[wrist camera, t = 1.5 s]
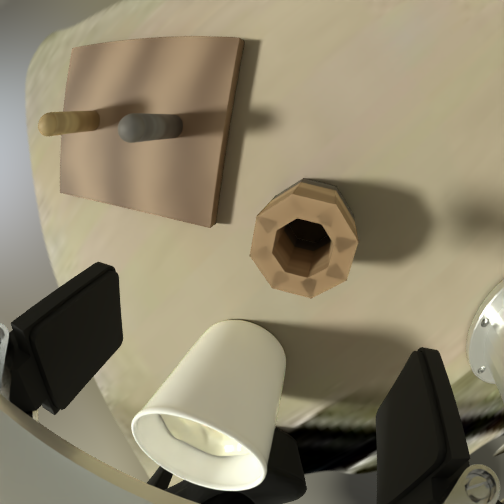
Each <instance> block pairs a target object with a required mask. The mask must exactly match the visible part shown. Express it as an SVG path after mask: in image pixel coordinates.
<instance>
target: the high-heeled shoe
mask: <svg viewBox="0 0 504 504" xmlns="http://www.w3.org/2000/svg"><path fill="white" fill-rule="evenodd" d="M297 446H298V444H297V442H296V440H295V439H294V438H293V437H292V436H290V435H289V434H288V433H286V432H284V431H281V430H279V429H277V428H275V431H274V436H273V440H272V445H271V450H270V455H269V460H268V465H267V474H266V477H265V479H264V480H263V482H262V483H260V484H259V485H258V486H256V487H254V488H251V489H247V490H241V491H224V490H217V489H211V488H207V487H203V486H200V485H197V484H194V483H191V482H189V481H186V480H183V481H181V482H180V483H178V484H176V485H174V486H172V487H169V488H168V486H169V483H170V481H171V478H172V475H173V474H172V473H170V472H169V471H167V470H165V469H164V468H162V467H161V466H160V467H159V468H158V469H157V471H156V472H155V473H154V475H153V476H152V477H151V478H150V480H149V481H148V482H147V484H149V485H152V486H154V487H156V488H159V489H161V490H164V491H166V492H169V493H171V494H174V495H176V496H179V497H182V498H185V499H187V500H190V501H193V502H196V503H199V504H283V503H287V502H291V501H294V500H297V499H299V498H300V497H302V496H303V495H304V494H305V492H306V490H307V487H306V482H305V478H304V472H303V468H302V464H301V460H300V455H299V451H298V447H297Z"/></svg>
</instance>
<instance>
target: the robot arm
mask: <svg viewBox="0 0 504 504" xmlns="http://www.w3.org/2000/svg"><path fill="white" fill-rule="evenodd" d="M11 326H12V329H13V330H12V331H11V332H10V333H9V331H8V329H7V327H6V326H4V325H3V324H1V323H0V504H199V503H196V502H193V501H190V500H187V499H185V498H182V497H179V496H176V495H174V494H171V493H169V492H166V491H164V490H161V489H159V488H156V487H154V486H152V485H149V484H147V483H145V482H142V481H140V480H138V479H136V478H133V477H131V476H129V475H127V474H125V473H123V472H121V471H119V470H117V469H115V468H113V467H111V466H109V465H107V464H105V463H103V462H102V461H100V460H98V459H96V458H94V457H92V456H91V455H89V454H87V453H85V452H84V451H82V450H80V449H78V448H77V447H75V446H74V445H72V444H70V443H69V442H67V441H66V440H64V439H62V438H61V437H59V436H58V435H56V434H54V433H53V432H52V431H50V430H49V429H47V428H46V427H44V426H43V425H41V424H40V423H38V408H39V407H40V406H41V405H42V406H43V408H45V409H46V410H48V411H49V412H51V413H52V414H54V415H55V414H56V413H57V412H58V411H59V410H60V409H61V410H63V409H65V408H66V407H67V406H68V405H69V404H70V402H71V401H72V400H73V399H74V398H75V396H77V394H78V393H79V392H80V391H81V390H82V389H83V387H84V386H85V385H86V384H87V383H88V382H89V380H91V378H92V377H93V376H94V375H95V374H96V373H97V372H98V371H99V369H100V368H101V367H102V366H103V365H104V364H105V363H106V362H107V360H108V359H109V358H110V357H111V356H112V355H113V354H114V353H115V352H116V350H117V349H118V348H119V347H120V346H121V344H122V341H123V331H122V320H121V307H120V291H119V276H118V273H117V272H116V271H115V268H114V267H113V266H110V265H107V264H104V263H101V262H97V263H95V264H93V265H92V266H90V267H89V268H87V269H86V270H84V271H83V272H81V273H80V274H78V275H77V276H75V277H74V278H72V279H71V280H69V281H68V282H67V283H65V284H64V285H62V286H61V287H59V288H58V289H56V290H55V291H54V292H52V293H51V294H49V295H48V296H47V297H45V298H44V299H42V300H41V301H40V302H38V303H37V304H35V305H34V306H33V307H31V308H30V309H29V310H27V311H26V312H25V313H23V314H22V315H21V316H19V317H18V318H17V319H15V320H14V321H13V322H11ZM466 353H467V358H468V362H469V364H470V367H471V369H472V371H473V372H474V374H475V375H476V376H477V377H478V378H479V379H481V380H482V381H485V382H487V383H492V384H496V385H497V388H498V390H499V392H500V395H501V397H502V400H503V402H504V279H503V280H502V281H501V282H500V283H499V284H497V286H496V287H495V288H494V289H493V290H492V291H491V292H490V293H489V294H488V296H487V297H486V299H485V300H484V301H483V303H482V304H481V306H480V307H479V309H478V311H477V313H476V315H475V317H474V318H473V321H472V324H471V326H470V329H469V332H468V337H467V343H466ZM376 435H377V504H502V503H501V502H500V501H499V500H498V498H499V494H500V483H499V480H498V477H497V476H496V474H495V473H494V472H493V471H492V470H491V469H490V468H488V467H487V466H485V465H480V464H476V465H471V466H469V461H468V460H469V459H470V455H469V451H468V446H467V442H466V438H465V434H464V430H463V426H462V423H461V419H460V415H459V412H458V408H457V405H456V402H455V398H454V395H453V392H452V388H451V385H450V382H449V379H448V376H447V373H446V370H445V367H444V364H443V361H442V359H441V356H440V353H439V351H437V350H434V349H428V348H423V347H421V348H419V349H418V351H413V352H412V354H411V355H410V357H409V359H408V361H407V363H406V364H405V366H404V368H403V370H402V371H401V373H400V375H399V377H398V378H397V380H396V382H395V383H394V385H393V387H392V388H391V390H390V391H389V393H388V395H387V396H386V398H385V399H384V401H383V403H382V404H381V406H380V407H379V409H378V411H377V414H376Z"/></svg>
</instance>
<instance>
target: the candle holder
mask: <svg viewBox="0 0 504 504" xmlns="http://www.w3.org/2000/svg"><path fill="white" fill-rule="evenodd" d="M285 370H286V356H285V352H284V350H283V348H282V346H281V344H280V343H279V341H278V340H277V339H276V338H275V337H274V336H273V335H272V334H271V333H270V332H268V331H267V330H266V329H264V328H262V327H260V326H258V325H256V324H254V323H251V322H247V321H242V320H226V321H221V322H218V323H216V324H214V325H212V326H211V327H209V328H208V329H207V330H206V331H205V332H204V333H203V334H202V336H201V337H200V338H199V339H198V340H197V342H196V343H195V344H194V345H193V347H192V348H191V349H190V350H189V352H188V353H187V354H186V355H185V357H184V358H183V359H182V360H181V362H180V363H179V364H178V365H177V366H176V368H175V369H174V370H173V371H172V373H171V374H170V375H169V376H168V378H167V379H166V380H165V381H164V383H163V384H162V385H161V386H160V388H159V389H158V390H157V391H156V393H155V394H154V395H153V396H152V398H151V399H150V400H149V401H148V402H147V404H146V405H145V406H144V407H143V409H142V410H141V411H140V412H138V413H137V414H136V415H135V417H134V418H133V421H132V425H131V428H132V433H133V436H134V438H135V440H136V442H137V444H138V445H139V446H140V448H141V449H142V450H143V451H144V452H145V453H146V454H147V455H148V456H149V457H150V458H151V459H152V460H153V461H154V462H156V463H157V464H158V465H160V466H161V467H162V468H164V469H165V470H167V471H169V472H170V473H172V474H174V475H176V476H178V477H180V478H182V479H184V480H186V481H189V482H191V483H194V484H197V485H200V486H203V487H207V488H211V489H217V490H224V491H241V490H247V489H251V488H254V487H256V486H258V485H259V484H260V483H262V482H263V480H264V479H265V477H266V474H267V465H268V460H269V455H270V450H271V445H272V440H273V436H274V431H275V426H276V420H277V415H278V410H279V405H280V400H281V394H282V389H283V383H284V377H285Z"/></svg>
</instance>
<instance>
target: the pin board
mask: <svg viewBox="0 0 504 504" xmlns="http://www.w3.org/2000/svg"><path fill="white" fill-rule="evenodd" d="M243 47H244V41H243V40H242V39H240V38H235V37H207V36H186V37H158V38H143V39H132V40H122V41H114V42H106V43H99V44H93V45H86V46H81V47H75V48H72V53H71V58H70V64H69V70H68V77H67V84H66V92H65V100H64V109H63V112H50V113H46V114H44V115H43V116H42V117H41V118H40V120H39V123H38V129H39V131H40V133H41V134H42V135H44V136H55V135H61V154H60V193H63V194H68V195H72V196H76V197H81V198H85V199H90V200H94V201H98V202H103V203H107V204H111V205H116V206H120V207H124V208H128V209H133V210H137V211H141V212H145V213H150V214H154V215H158V216H162V217H167V218H171V219H175V220H179V221H183V222H187V223H192V224H196V225H200V226H204V227H208V228H211V227H212V226H213V225H215V224H216V218H217V211H218V203H219V196H220V189H221V181H222V174H223V168H224V161H225V154H226V147H227V141H228V134H229V128H230V122H231V116H232V110H233V104H234V98H235V92H236V86H237V80H238V74H239V69H240V63H241V58H242V52H243Z"/></svg>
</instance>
